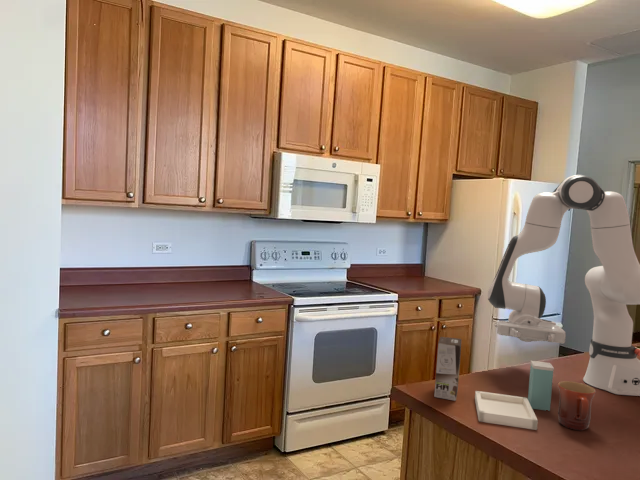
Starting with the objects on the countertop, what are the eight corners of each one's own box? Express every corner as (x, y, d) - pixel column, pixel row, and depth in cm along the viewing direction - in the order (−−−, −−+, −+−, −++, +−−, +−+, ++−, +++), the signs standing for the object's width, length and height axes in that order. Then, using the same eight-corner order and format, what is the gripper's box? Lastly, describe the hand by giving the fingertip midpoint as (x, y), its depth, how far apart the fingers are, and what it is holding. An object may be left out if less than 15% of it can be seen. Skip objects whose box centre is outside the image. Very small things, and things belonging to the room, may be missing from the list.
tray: (526, 406, 138) (527, 397, 138) (536, 430, 123) (537, 420, 123) (474, 399, 142) (475, 390, 141) (478, 421, 126) (479, 411, 126)
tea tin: (546, 404, 141) (549, 362, 140) (550, 411, 136) (554, 368, 135) (527, 401, 142) (530, 360, 141) (530, 408, 137) (533, 365, 136)
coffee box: (456, 401, 139) (460, 345, 138) (433, 397, 141) (437, 342, 140) (458, 390, 148) (462, 338, 147) (436, 387, 150) (440, 335, 149)
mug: (550, 416, 132) (553, 379, 131) (585, 421, 130) (589, 383, 130) (563, 436, 120) (567, 395, 120) (602, 441, 118) (606, 400, 118)
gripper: (494, 314, 165) (499, 322, 151) (560, 322, 160) (571, 331, 147) (492, 332, 165) (497, 342, 152) (558, 341, 160) (568, 352, 147)
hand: (534, 337), depth 149 cm, fingers open, 8 cm apart
